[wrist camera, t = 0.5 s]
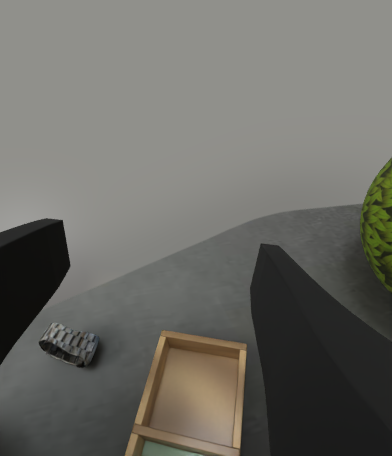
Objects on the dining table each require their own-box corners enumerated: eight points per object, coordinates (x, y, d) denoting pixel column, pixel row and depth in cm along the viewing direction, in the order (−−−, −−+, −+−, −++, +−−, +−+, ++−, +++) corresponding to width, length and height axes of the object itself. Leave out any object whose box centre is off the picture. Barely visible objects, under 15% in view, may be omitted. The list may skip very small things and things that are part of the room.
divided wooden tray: (226, 635, 15) (227, 656, 13) (99, 586, 17) (81, 598, 15) (245, 356, 26) (247, 343, 24) (166, 342, 28) (161, 329, 26)
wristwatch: (74, 372, 28) (91, 364, 25) (30, 347, 27) (43, 335, 23) (90, 345, 30) (108, 334, 27) (51, 320, 29) (65, 306, 26)
